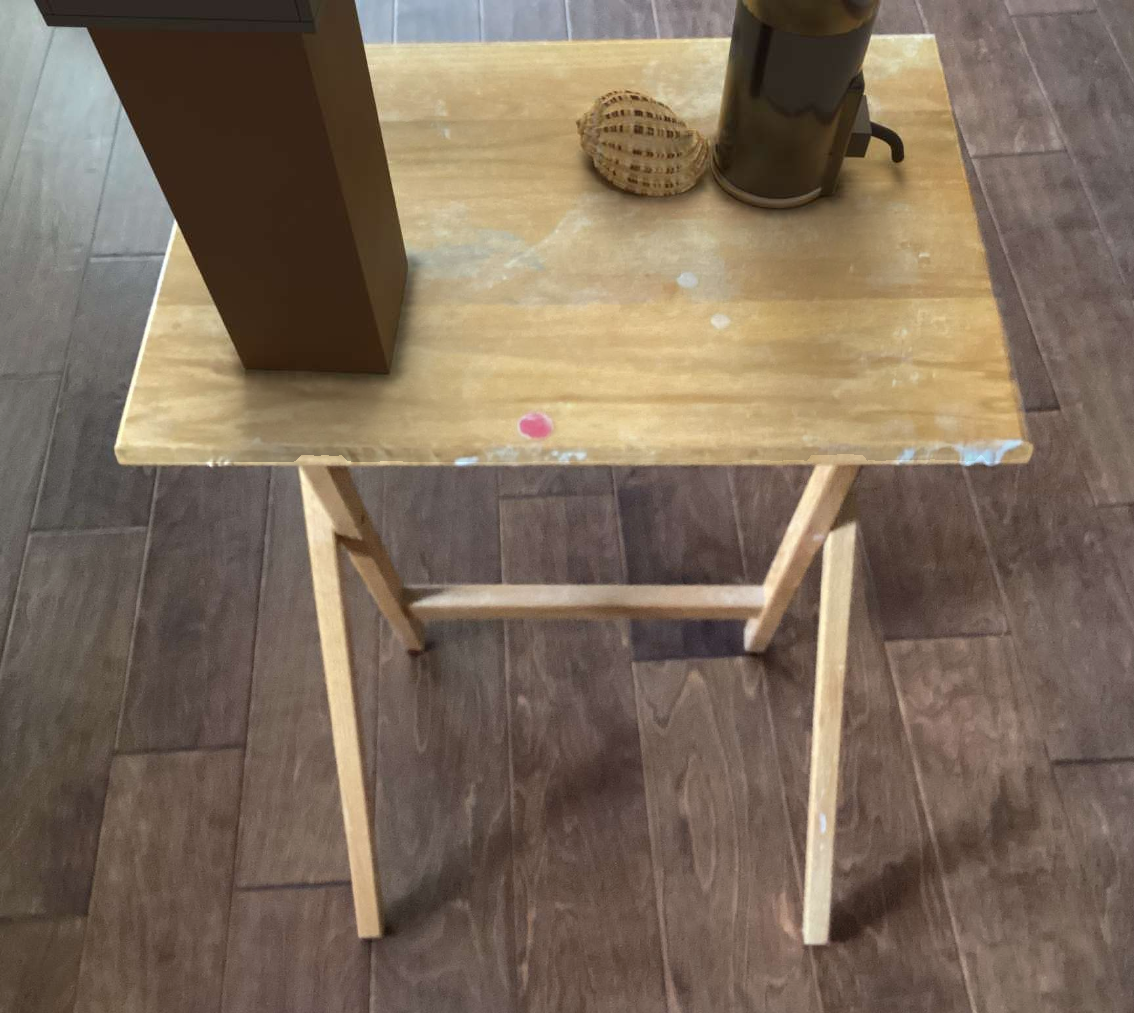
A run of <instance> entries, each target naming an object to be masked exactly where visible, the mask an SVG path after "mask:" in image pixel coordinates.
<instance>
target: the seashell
mask: <svg viewBox="0 0 1134 1013" xmlns="http://www.w3.org/2000/svg"><path fill="white" fill-rule="evenodd" d="M575 123H576V126H577V133H578V135H579V136H580V139H579V140H580V142H579V144H580V147H581V148H582V149H583V151H584V152H585V153H587V154H588V155H590V156H591V157H592V159H593V166H594V167H595V169H596V170H597V172H599V173H600V174H601V175H602V176H603V177H604V178H605V179H607V180H608V182H610V183H611V184H613V185H615V186H616V187H618V188H620V189H623V190H625V191H627V192H631V193H634V194H638V195H641V196H648V197H649V196H650V197H667V196H668V197H669V196H674V195H679V194H681V193H683V192H686V191H688V190H689V189H691V188H693V187H694V186H695V185H696V184H697V183H698V182H697V179H698V178H699V177H700V176H701V175H702V174H703V173H705V171H706V169H707V168H706V167H707V166H708V164H709V162H710V160H711V154H712V146H711V145H712V144H711V143H712V142H711V141H708V138H706V137H704V136H703V133H702V132H699V131H698V129H696V128H694V129H693V128H691V127H687V124H686V122H685V121H683V120H681V119H679V117H677V115H676V114H675V112H674V111H673V110H672V109H671V108H670V107H669V106H668V105H666V104H665V103H663V102H661V101H657V100H656V99H654V98H652V97H650V96H648V95H645V94H643V93H640V92H637V91H631V90H613V91H610V92H608V93H606V94H603V95H602V96H599V97H598V98H597V99H594V104H593V105H590V110H586V111H585V112H584V113H583V114H582V116H581V117H580V119H578V120H576V121H575Z"/></svg>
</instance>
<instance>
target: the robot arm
mask: <svg viewBox="0 0 1134 1013" xmlns="http://www.w3.org/2000/svg"><path fill="white" fill-rule="evenodd" d="M881 3H882V0H736V4H735V5H736V6H735V11H734V18H733V24H732V30H731V36H730V44H729V51H728V57H727V62H726V69H725V77H724V83H723V89H722V95H721V102H720V108H719V113H718V114H719V115H718V121H717V128H716V132H715V136H714V143H713V146H712V150H711V156H710V165H711V171H712V173H713V175H714V178H715V180H716V181H717V183H718V184H719V185H720V186H721V187H722V189H723V190H725V191H726V192H727V193H729V194H730V195H731V196H733V197H734V198H737V199H739V200H740V201H742V202H745V203H748V204H750V205H754V206H757V207H762V208H769V209H785V208H794V207H798V206H801V205H804V204H807V203H809V202H811V201H813V200H815V199H817V198H818V197H819V196H820V197H821V196H833V195H834V193H835V190H836V187H837V184H838V180H839V178H840V173H841V170H842V167H843V165H844V161H845V158H856V159H858V158H859V159H861V158H862V159H865V157H866V154H867V151H868V149H869V145H870V142H871V138H876V139H878V140H880V141H883V142H884V143H886V144H887V145H888V146H889V147H890V153H891V154H890V155H891V161H892V163H894V164H900V163H901V162H903V161H904V160H905V146H904V142H903V140H902V139H901V137H900V135H899V134H898V133H897V132H895V131H894V130H892V129H891V128H889V127H887V126H884V125H881V124H878V123H876V122H873V121H871V118H870V112H869V105H868V104H869V103H868V98H867V94H865V90H866V80H865V76H864V69H863V67H864V66H863V65H864V62H865V58H866V55H867V51H868V48H869V44H870V41H871V38H872V34H873V31H874V27H875V25H876V20H877V17H878V14H879V10H880V7H881Z"/></svg>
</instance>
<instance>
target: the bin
mask: <svg viewBox="0 0 1134 1013" xmlns="http://www.w3.org/2000/svg"><path fill="white" fill-rule="evenodd" d="M33 1H34V3H35V5H36V7H37V9H38V12H39V13H40V15H41V16H42V19H43V21H44V23H45V25H46V26H47V27H48V28H49V27H50V28H51V27H53V28H55V27H56V28H57V27H58V28H84V29H85V28H86V29H87V33H88V35H89V36H90V39H91V41H92V43H93V45H94V47H95V50H96V52H97V54H98V56H99V58H100V61H101V63H102V65H103V67H104V69H105V71H106V73H107V76H108V77H109V79H110V82H111V84H112V87H113V88H114V91H115V92H116V95H117V97H118V99H119V101H120V103H121V106H122V108H123V110H124V112H125V114H126V116H127V118H128V121H129V123H130V125H131V127H132V130H133V131H134V134H135V136H136V139H137V140H138V142H139V145H140V146H141V149H142V151H143V153H144V155H145V157H146V159H147V161H148V164H149V166H150V168H151V170H152V172H153V175H154V177H155V178H156V180H157V183H158V186H159V187H160V189H161V192H162V194H163V196H164V198H165V200H166V203H167V205H168V207H169V209H170V211H171V213H172V215H173V218H174V220H175V222H176V224H177V226H178V228H179V230H180V232H181V235H182V237H183V239H184V242H185V244H186V245H187V248H188V250H189V252H190V254H191V256H192V259H193V261H194V263H195V266H196V267H197V270H198V271H199V274H200V275H201V279H202V280H203V283H204V284H205V287H206V288H207V290H208V293H209V295H210V297H211V299H212V301H213V304H214V305H215V308H216V310H217V312H218V314H219V317H220V318H221V321H222V323H223V325H224V328H225V329H226V330H225V331H226V332H227V334H228V336H229V338H230V340H231V342H232V344H233V347H234V349H235V351H236V354H237V356H238V357H239V360H240V362H241V364H242V366H243V368H244V369H256V370H257V369H258V370H280V371H281V370H282V371H283V370H284V371H307V372H309V371H311V372H335V373H336V372H337V373H339V372H340V373H359V374H360V373H363V374H364V373H367V374H390V371H391V367H392V360H393V355H394V350H395V343H396V338H397V332H398V326H399V320H400V314H401V310H402V303H403V299H404V298H403V296H404V292H405V286H406V281H407V274H408V268H409V263H408V257H407V252H406V246H405V243H404V236H403V232H402V227H401V222H400V217H399V213H398V212H399V211H398V207H397V203H396V197H395V193H394V186H393V183H392V178H391V173H390V168H389V163H388V162H389V161H388V158H387V152H386V148H385V142H384V137H383V133H382V127H381V124H380V123H381V122H380V119H379V112H378V108H377V104H376V103H377V102H376V99H375V94H374V87H373V84H372V78H371V73H370V69H369V64H368V57H367V52H366V48H365V43H364V39H363V35H362V34H363V33H362V28H361V24H360V19H359V15H358V9H357V8H358V7H357V3H356V0H33Z"/></svg>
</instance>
